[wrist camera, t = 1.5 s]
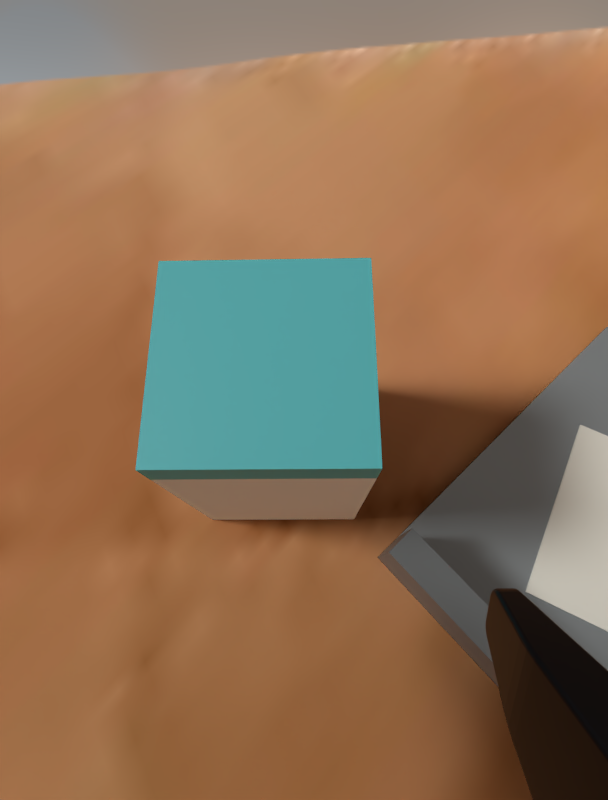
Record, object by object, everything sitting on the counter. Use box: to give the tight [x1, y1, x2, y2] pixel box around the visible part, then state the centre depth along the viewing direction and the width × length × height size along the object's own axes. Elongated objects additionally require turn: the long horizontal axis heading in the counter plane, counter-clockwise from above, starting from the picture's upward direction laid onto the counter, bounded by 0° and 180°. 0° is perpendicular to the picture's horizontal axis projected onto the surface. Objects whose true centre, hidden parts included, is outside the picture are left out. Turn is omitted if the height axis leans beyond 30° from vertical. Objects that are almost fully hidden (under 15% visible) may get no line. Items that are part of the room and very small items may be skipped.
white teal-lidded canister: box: [136, 258, 382, 520], centre depth 18 cm, size 6×6×10 cm
